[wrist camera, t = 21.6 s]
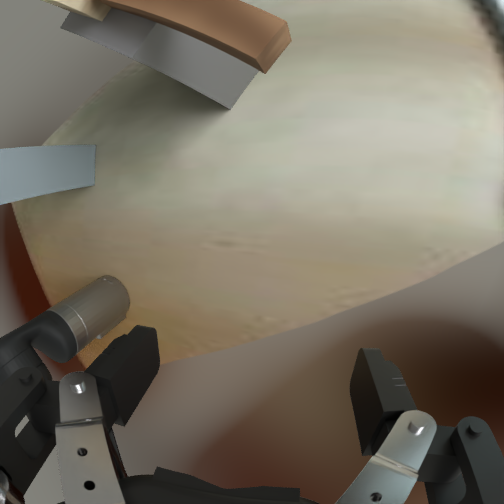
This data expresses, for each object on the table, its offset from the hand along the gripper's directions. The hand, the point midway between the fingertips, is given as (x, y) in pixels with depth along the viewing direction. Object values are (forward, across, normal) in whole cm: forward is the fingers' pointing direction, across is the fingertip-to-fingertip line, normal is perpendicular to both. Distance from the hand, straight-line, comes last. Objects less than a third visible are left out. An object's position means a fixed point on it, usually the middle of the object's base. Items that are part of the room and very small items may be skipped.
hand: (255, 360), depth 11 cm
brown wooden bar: (+10, -9, +20) cm, 24 cm away
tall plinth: (+40, -39, +8) cm, 57 cm away
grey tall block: (+37, -11, +24) cm, 46 cm away
